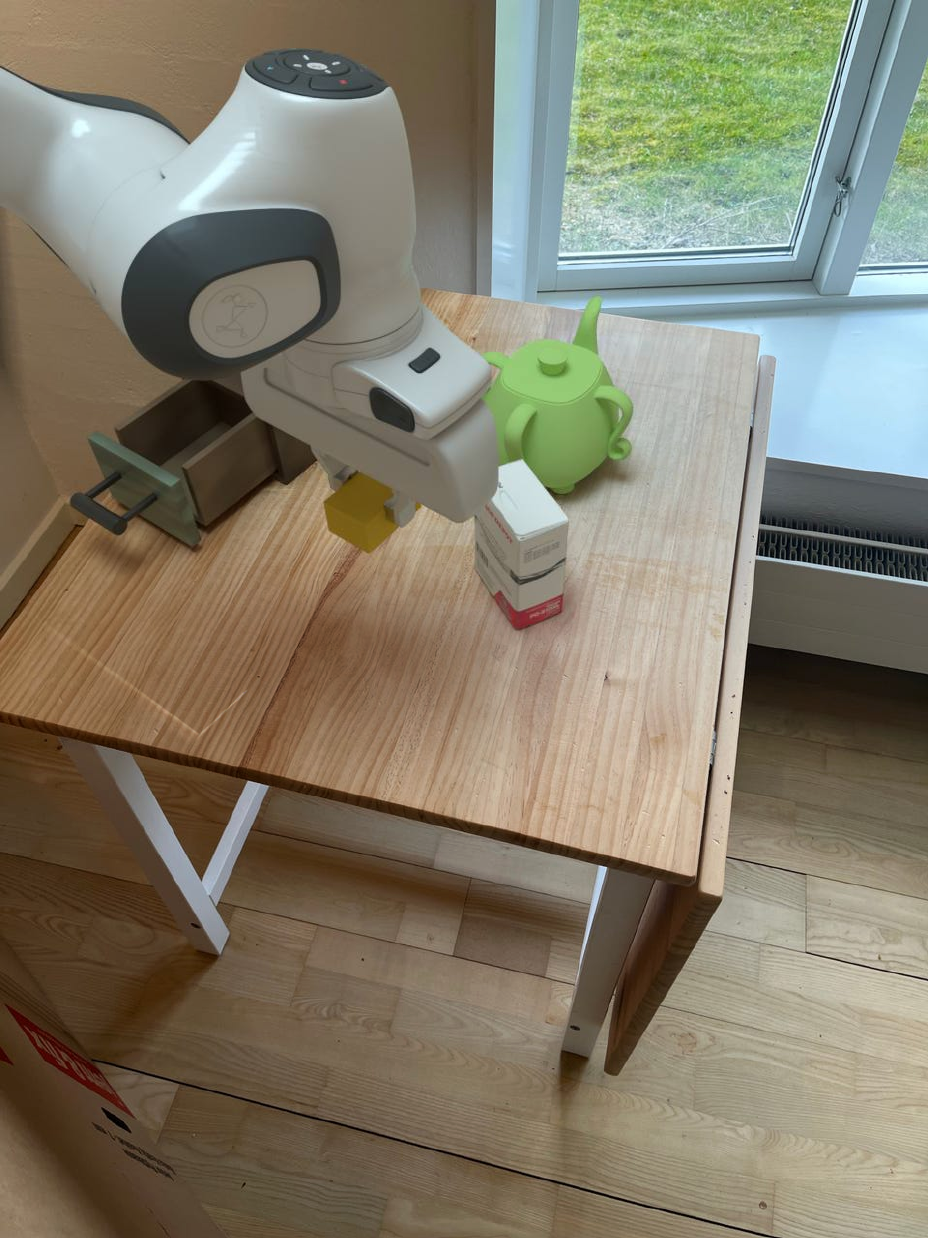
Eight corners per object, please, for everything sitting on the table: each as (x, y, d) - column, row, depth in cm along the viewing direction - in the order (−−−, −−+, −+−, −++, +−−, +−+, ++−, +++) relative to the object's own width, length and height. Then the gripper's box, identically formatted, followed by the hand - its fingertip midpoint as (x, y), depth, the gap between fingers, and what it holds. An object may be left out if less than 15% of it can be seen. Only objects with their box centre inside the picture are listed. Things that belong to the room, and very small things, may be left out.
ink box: (564, 612, 84) (573, 518, 75) (515, 632, 83) (517, 539, 74) (519, 549, 89) (522, 454, 80) (472, 567, 88) (469, 473, 79)
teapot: (462, 413, 102) (458, 309, 92) (590, 394, 103) (600, 290, 93) (493, 517, 92) (492, 413, 82) (634, 495, 93) (650, 390, 83)
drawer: (149, 582, 86) (123, 521, 80) (69, 529, 91) (39, 468, 85) (298, 462, 96) (284, 400, 90) (219, 420, 101) (201, 358, 94)
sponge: (369, 554, 68) (365, 525, 66) (328, 531, 70) (322, 501, 68) (421, 507, 71) (419, 477, 69) (381, 485, 73) (377, 455, 71)
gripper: (198, 310, 61) (242, 470, 72) (449, 432, 53) (455, 592, 64) (268, 266, 64) (299, 426, 75) (514, 375, 56) (510, 537, 67)
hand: (373, 503), depth 69 cm, fingers closed on sponge, 4 cm apart
